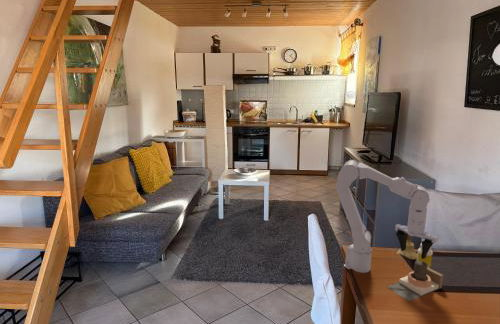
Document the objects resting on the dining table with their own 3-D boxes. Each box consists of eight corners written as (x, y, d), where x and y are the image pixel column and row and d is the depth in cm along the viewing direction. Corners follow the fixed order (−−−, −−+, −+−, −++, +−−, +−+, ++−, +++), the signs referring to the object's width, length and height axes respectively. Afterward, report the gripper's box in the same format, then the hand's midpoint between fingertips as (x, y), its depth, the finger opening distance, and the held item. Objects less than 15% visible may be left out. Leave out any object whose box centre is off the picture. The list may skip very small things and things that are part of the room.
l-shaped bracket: (385, 289, 121) (387, 274, 120) (417, 277, 129) (419, 263, 127) (408, 303, 113) (410, 287, 112) (441, 290, 120) (443, 275, 119)
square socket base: (399, 282, 124) (400, 273, 123) (415, 276, 128) (416, 267, 127) (421, 295, 116) (422, 286, 115) (438, 288, 120) (439, 279, 119)
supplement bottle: (432, 271, 133) (435, 248, 131) (417, 270, 134) (420, 247, 132) (428, 264, 138) (431, 242, 136) (414, 263, 139) (416, 241, 137)
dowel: (410, 278, 123) (412, 261, 122) (421, 278, 123) (423, 260, 122) (416, 284, 119) (418, 266, 118) (427, 284, 120) (429, 266, 118)
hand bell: (396, 249, 151) (399, 215, 148) (416, 252, 148) (420, 218, 145) (397, 258, 144) (400, 222, 140) (419, 261, 141) (422, 225, 137)
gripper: (392, 216, 126) (389, 249, 129) (432, 228, 115) (428, 265, 117) (401, 212, 130) (398, 244, 133) (441, 223, 119) (437, 258, 122)
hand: (413, 253), depth 125 cm, fingers open, 7 cm apart
